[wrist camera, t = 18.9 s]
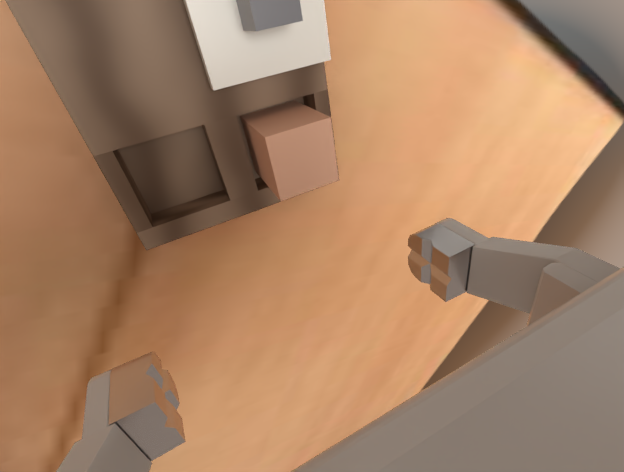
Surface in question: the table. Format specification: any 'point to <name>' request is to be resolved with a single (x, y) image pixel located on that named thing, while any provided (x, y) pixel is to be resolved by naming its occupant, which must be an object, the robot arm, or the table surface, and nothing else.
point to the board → (158, 110)
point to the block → (291, 148)
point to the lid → (257, 37)
